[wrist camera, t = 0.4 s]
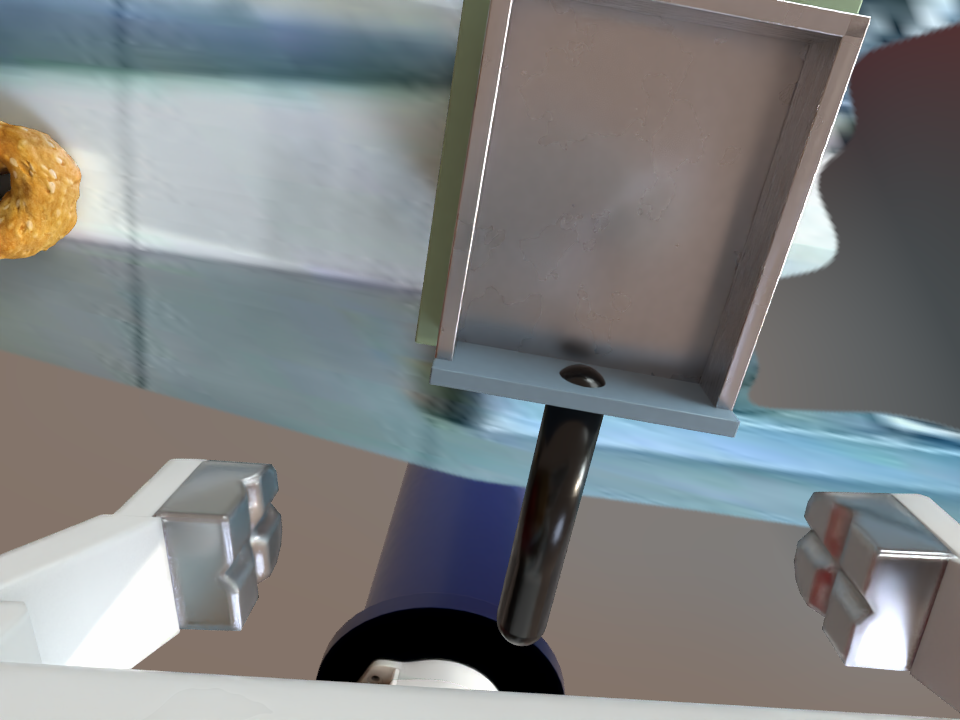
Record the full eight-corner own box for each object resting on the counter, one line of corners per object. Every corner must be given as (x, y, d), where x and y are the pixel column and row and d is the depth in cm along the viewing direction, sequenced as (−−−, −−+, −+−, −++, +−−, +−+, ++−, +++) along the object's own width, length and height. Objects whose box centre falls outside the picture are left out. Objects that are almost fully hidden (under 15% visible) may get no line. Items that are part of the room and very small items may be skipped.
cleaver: (628, 617, 28) (644, 686, 24) (403, 579, 28) (388, 643, 24) (824, 29, 19) (889, 11, 16) (500, -32, 19) (497, -63, 16)
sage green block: (618, 255, 48) (725, 398, 24) (463, 227, 48) (414, 343, 24) (669, 54, 43) (870, -19, 19) (496, 22, 43) (476, -94, 19)
